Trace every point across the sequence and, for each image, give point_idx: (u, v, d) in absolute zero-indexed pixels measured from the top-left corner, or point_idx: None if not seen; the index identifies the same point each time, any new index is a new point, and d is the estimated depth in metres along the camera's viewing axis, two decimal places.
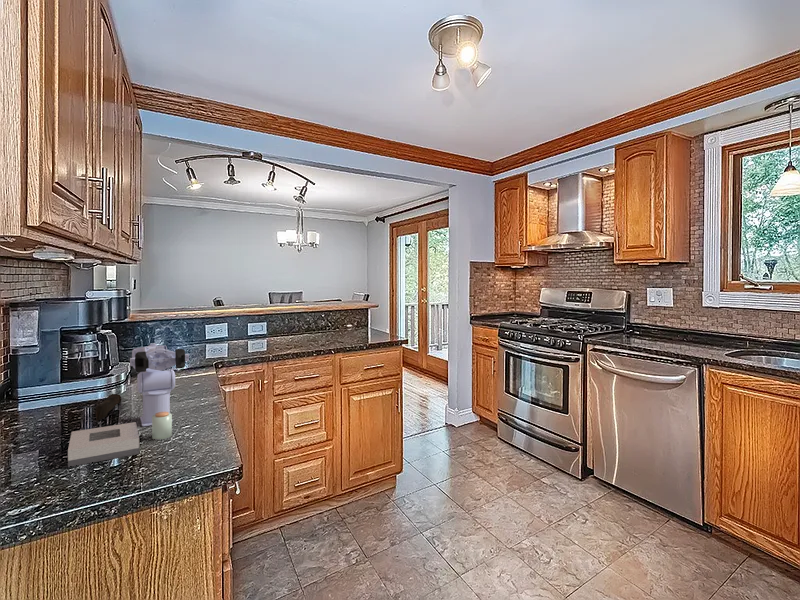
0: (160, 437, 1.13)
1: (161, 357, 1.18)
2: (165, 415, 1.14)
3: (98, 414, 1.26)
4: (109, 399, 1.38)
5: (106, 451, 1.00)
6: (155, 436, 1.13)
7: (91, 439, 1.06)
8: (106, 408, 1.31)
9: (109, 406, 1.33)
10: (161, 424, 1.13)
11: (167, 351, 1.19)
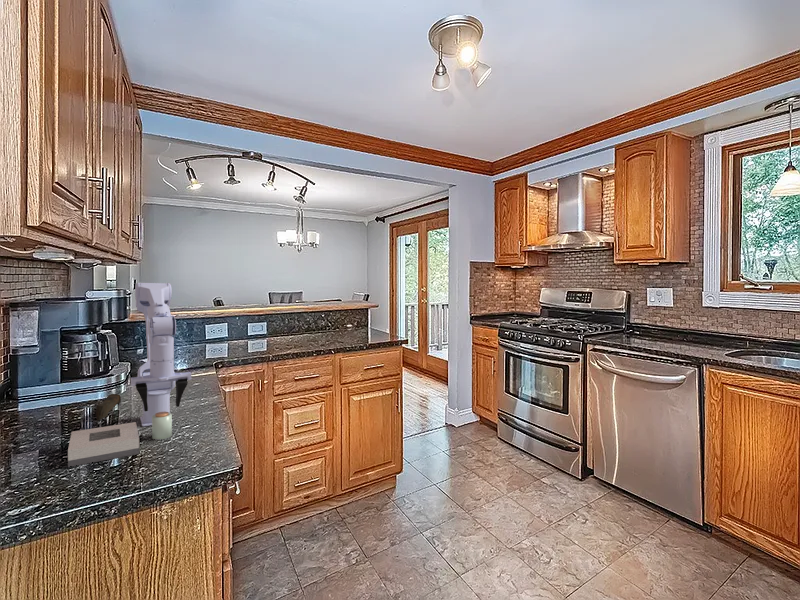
0: (160, 437, 1.13)
1: None
2: (165, 415, 1.14)
3: (99, 414, 1.26)
4: (109, 399, 1.38)
5: (106, 451, 1.00)
6: (155, 436, 1.13)
7: (91, 439, 1.06)
8: (106, 408, 1.31)
9: (109, 406, 1.33)
10: (161, 424, 1.13)
11: (170, 379, 1.14)
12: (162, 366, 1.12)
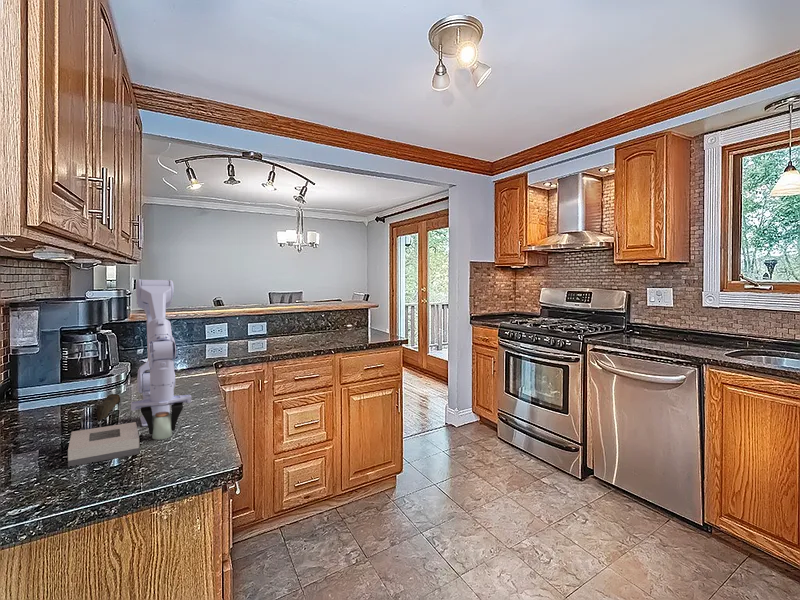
0: (160, 437, 1.13)
1: None
2: (165, 415, 1.14)
3: (100, 414, 1.26)
4: (109, 399, 1.38)
5: (106, 451, 1.00)
6: (155, 436, 1.13)
7: (91, 439, 1.06)
8: (107, 408, 1.31)
9: (110, 406, 1.33)
10: (161, 424, 1.13)
11: (170, 402, 1.14)
12: (162, 390, 1.12)
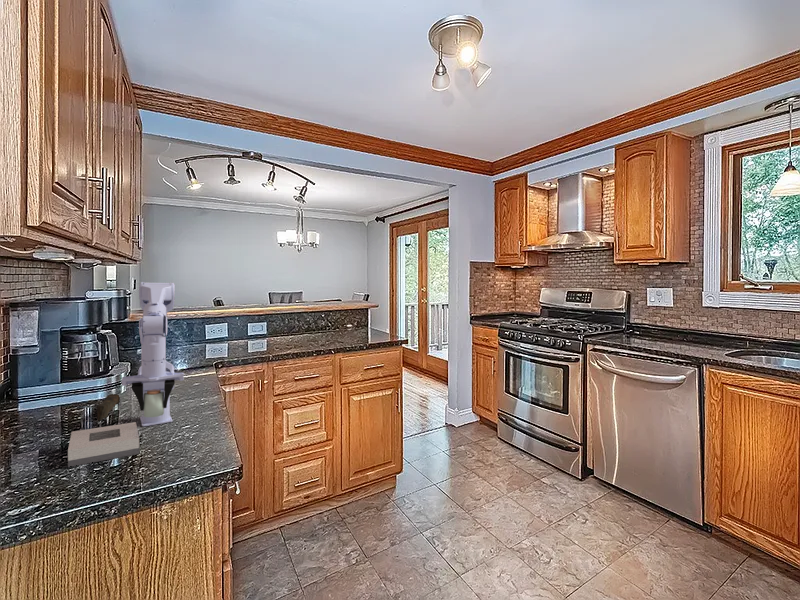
0: (150, 415, 1.11)
1: None
2: (156, 392, 1.12)
3: (100, 414, 1.26)
4: (109, 399, 1.38)
5: (106, 451, 1.00)
6: (146, 413, 1.11)
7: (91, 439, 1.06)
8: (107, 408, 1.31)
9: (110, 406, 1.33)
10: (152, 402, 1.11)
11: (161, 379, 1.12)
12: (152, 366, 1.10)
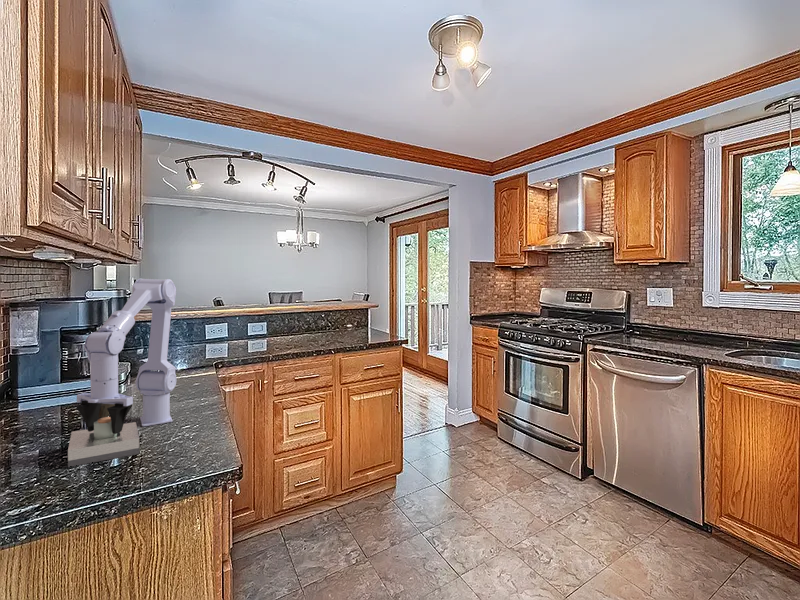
0: None
1: None
2: (102, 422, 1.03)
3: (101, 413, 1.27)
4: None
5: (106, 451, 1.00)
6: None
7: (91, 439, 1.06)
8: None
9: (110, 406, 1.33)
10: (95, 431, 1.03)
11: (103, 401, 1.02)
12: (94, 386, 1.02)
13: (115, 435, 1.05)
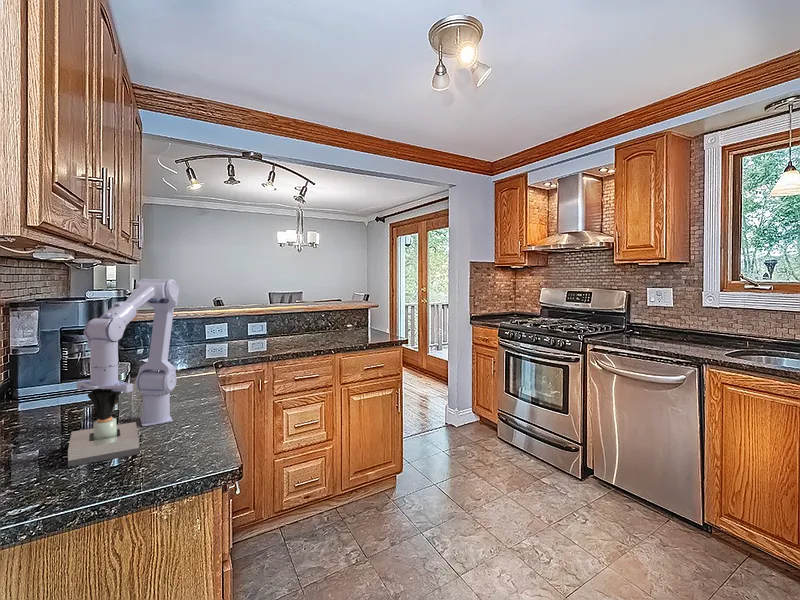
0: None
1: None
2: (101, 421, 1.03)
3: None
4: None
5: (106, 451, 1.00)
6: None
7: (91, 439, 1.06)
8: None
9: None
10: (95, 431, 1.03)
11: None
12: (94, 373, 1.02)
13: (115, 435, 1.05)
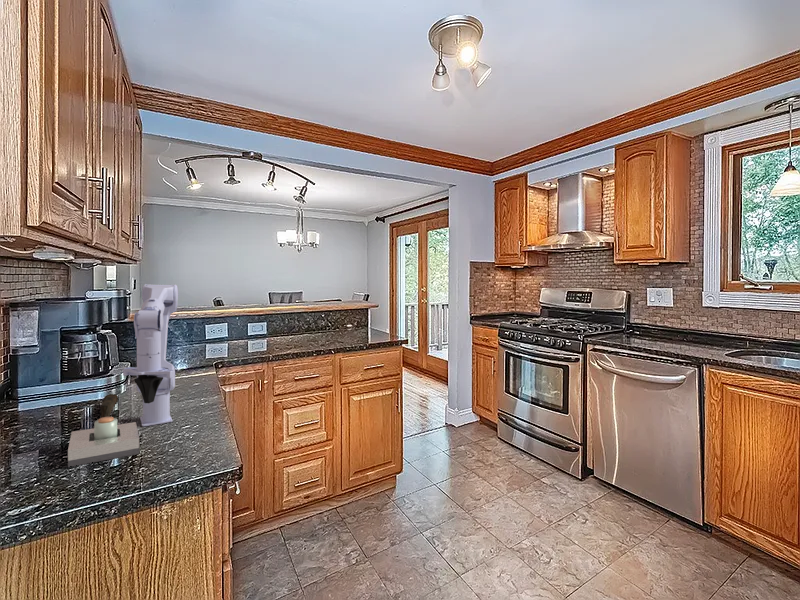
0: None
1: None
2: (102, 422, 1.03)
3: (104, 413, 1.27)
4: (108, 399, 1.38)
5: (106, 451, 1.00)
6: None
7: (91, 439, 1.06)
8: (110, 407, 1.31)
9: (111, 406, 1.34)
10: (95, 431, 1.03)
11: None
12: (140, 360, 1.11)
13: (115, 435, 1.05)
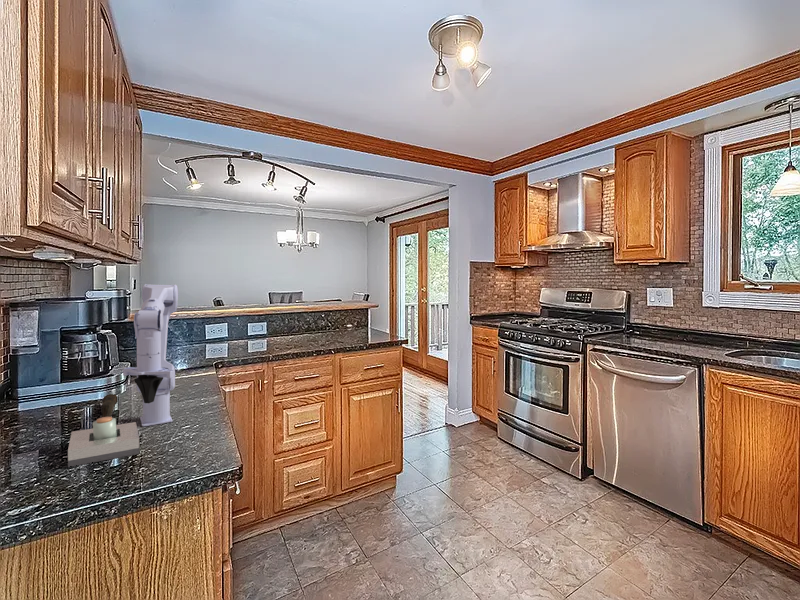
0: None
1: None
2: (100, 422, 1.03)
3: (106, 413, 1.27)
4: (109, 399, 1.38)
5: (106, 451, 1.00)
6: None
7: (91, 439, 1.06)
8: (111, 407, 1.31)
9: (112, 405, 1.34)
10: (94, 431, 1.03)
11: None
12: (140, 360, 1.11)
13: (114, 435, 1.05)
